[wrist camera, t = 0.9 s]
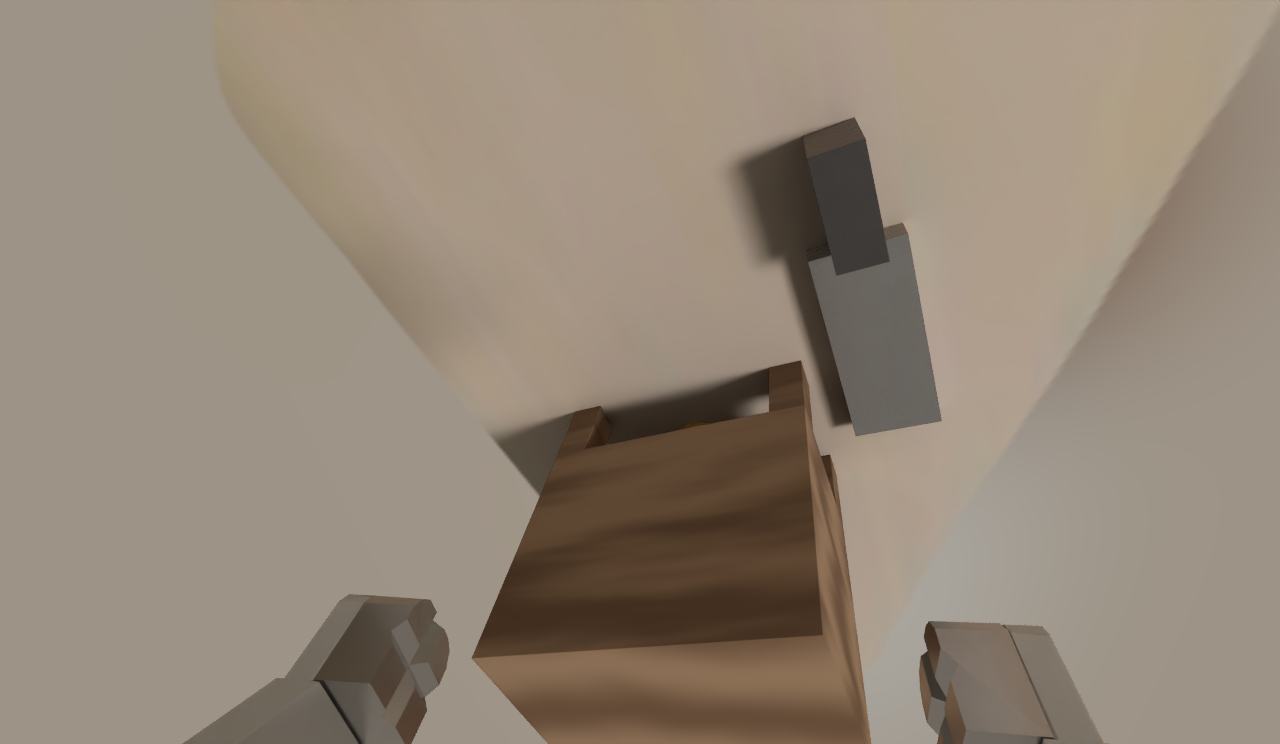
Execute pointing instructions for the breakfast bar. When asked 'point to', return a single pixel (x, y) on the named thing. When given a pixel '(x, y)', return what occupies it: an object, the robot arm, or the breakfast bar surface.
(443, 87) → the breakfast bar surface
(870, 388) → the scraper
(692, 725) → the walnut cabinet
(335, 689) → the robot arm
